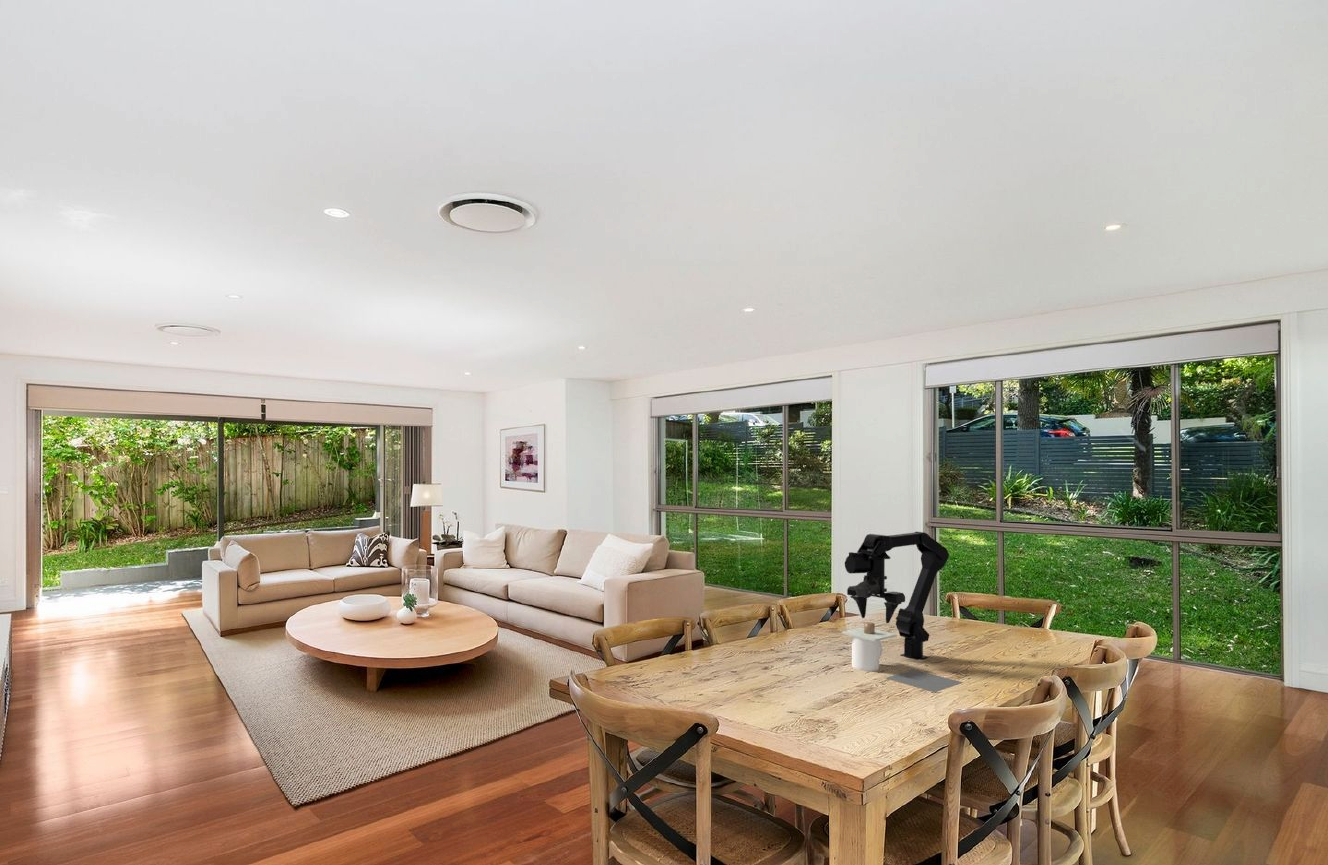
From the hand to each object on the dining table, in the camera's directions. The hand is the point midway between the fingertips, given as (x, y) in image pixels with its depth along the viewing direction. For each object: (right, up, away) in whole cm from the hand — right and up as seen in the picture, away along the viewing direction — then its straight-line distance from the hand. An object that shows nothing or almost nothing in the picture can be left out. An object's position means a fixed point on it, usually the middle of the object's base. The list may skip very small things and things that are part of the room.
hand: (875, 620), depth 226 cm
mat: (+7, -12, -23) cm, 27 cm away
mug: (-5, -13, -10) cm, 16 cm away
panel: (-5, -2, -9) cm, 11 cm away
